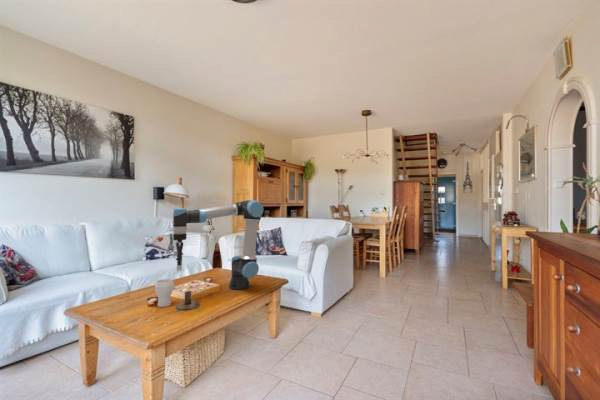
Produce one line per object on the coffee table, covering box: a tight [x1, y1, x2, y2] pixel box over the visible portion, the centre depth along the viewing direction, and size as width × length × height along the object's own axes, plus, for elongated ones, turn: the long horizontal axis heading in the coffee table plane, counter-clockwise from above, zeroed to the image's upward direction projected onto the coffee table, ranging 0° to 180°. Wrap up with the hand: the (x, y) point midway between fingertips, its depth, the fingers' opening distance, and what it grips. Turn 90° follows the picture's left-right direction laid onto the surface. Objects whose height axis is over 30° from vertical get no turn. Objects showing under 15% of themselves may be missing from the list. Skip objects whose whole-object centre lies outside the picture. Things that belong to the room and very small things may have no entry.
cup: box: [154, 278, 175, 308], centre depth 173 cm, size 11×11×15 cm
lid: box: [175, 290, 200, 312], centre depth 170 cm, size 13×13×8 cm
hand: (179, 267), depth 173 cm, fingers open, 13 cm apart
